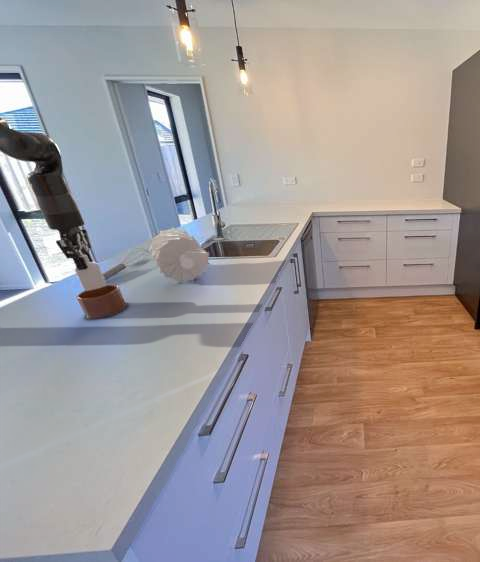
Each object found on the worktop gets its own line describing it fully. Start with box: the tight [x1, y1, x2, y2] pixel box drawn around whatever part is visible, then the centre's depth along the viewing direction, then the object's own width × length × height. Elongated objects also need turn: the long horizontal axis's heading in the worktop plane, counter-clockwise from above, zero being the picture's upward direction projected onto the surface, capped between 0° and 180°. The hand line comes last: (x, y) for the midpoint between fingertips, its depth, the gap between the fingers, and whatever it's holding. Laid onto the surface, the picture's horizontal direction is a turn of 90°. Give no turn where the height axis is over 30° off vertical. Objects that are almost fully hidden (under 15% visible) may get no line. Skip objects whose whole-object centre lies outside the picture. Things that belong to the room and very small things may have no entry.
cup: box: [76, 284, 127, 320], centre depth 97 cm, size 10×10×7 cm
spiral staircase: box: [148, 227, 211, 283], centre depth 122 cm, size 18×18×25 cm
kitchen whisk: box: [102, 247, 153, 281], centre depth 129 cm, size 6×34×6 cm, turn 1°
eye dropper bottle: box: [73, 253, 108, 291], centre depth 92 cm, size 4×6×12 cm
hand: (86, 266), depth 92 cm, fingers closed on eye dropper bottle, 4 cm apart
